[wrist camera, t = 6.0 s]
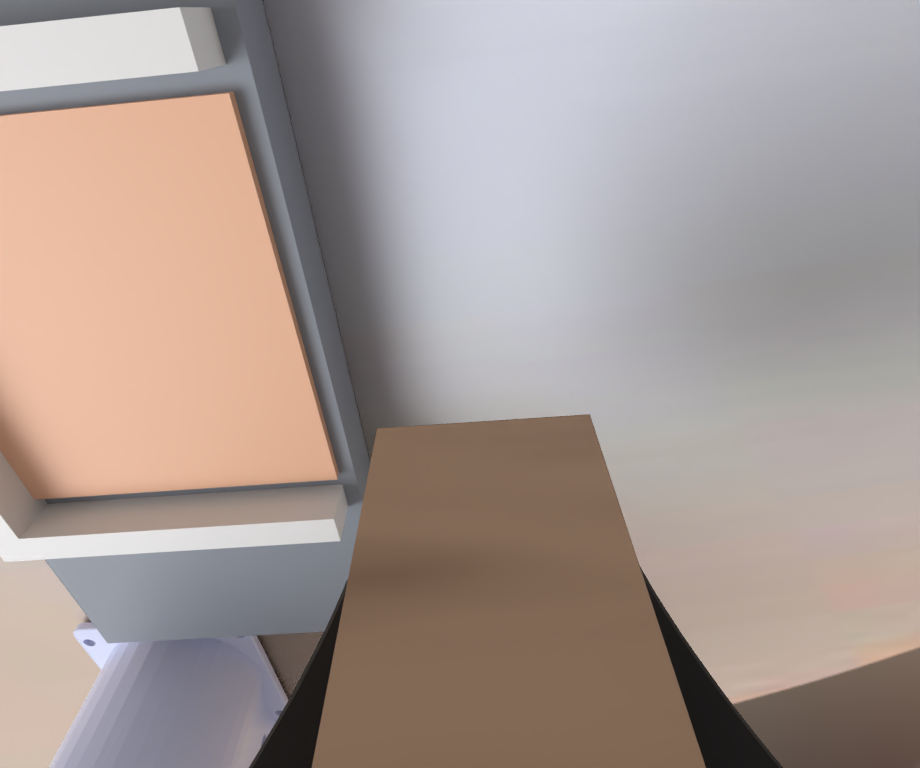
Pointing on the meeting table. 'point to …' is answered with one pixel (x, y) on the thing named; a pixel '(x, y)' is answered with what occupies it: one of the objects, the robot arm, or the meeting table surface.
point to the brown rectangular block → (498, 611)
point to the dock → (167, 326)
